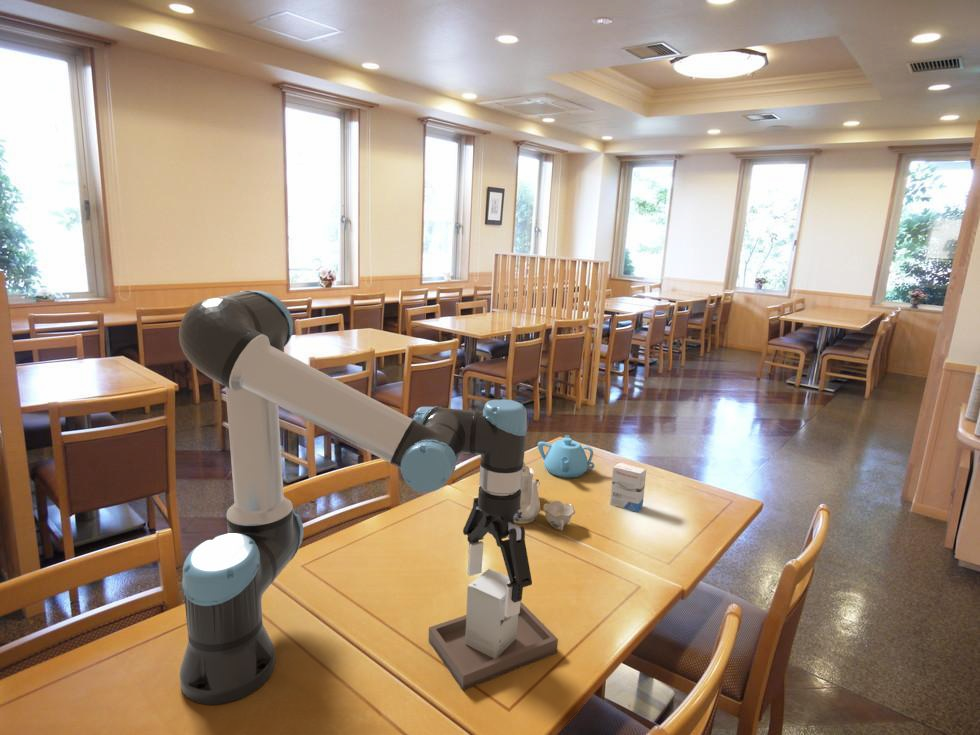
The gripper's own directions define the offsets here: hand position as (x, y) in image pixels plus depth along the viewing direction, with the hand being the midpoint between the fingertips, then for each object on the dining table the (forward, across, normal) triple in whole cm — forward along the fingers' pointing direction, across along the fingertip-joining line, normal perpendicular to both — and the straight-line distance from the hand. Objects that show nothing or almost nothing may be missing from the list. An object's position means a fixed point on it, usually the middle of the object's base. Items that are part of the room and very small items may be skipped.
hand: (492, 593), depth 109 cm
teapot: (+11, +60, -65) cm, 89 cm away
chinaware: (+12, +40, -37) cm, 56 cm away
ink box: (+11, +32, -66) cm, 74 cm away
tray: (+12, 0, -1) cm, 12 cm away
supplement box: (+11, 0, 0) cm, 11 cm away
